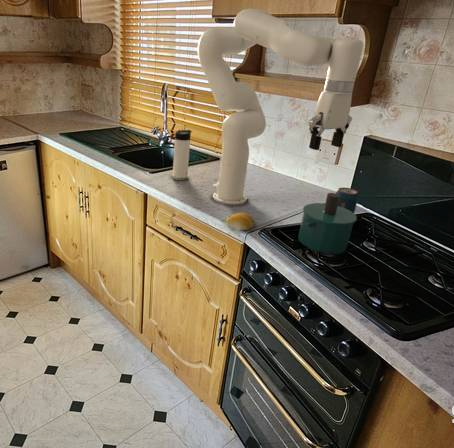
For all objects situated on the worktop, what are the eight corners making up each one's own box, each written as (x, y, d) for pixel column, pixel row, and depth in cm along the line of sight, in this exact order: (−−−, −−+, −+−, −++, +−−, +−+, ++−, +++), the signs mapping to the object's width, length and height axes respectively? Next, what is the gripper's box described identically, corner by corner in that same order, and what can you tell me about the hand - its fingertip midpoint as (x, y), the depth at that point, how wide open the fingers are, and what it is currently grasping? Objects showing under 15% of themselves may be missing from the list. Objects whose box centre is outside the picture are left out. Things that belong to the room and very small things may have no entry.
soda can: (344, 220, 138) (353, 187, 132) (354, 229, 131) (363, 194, 126) (324, 219, 137) (332, 186, 132) (333, 228, 131) (342, 194, 126)
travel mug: (190, 179, 169) (194, 132, 160) (175, 180, 167) (179, 132, 158) (184, 175, 174) (188, 128, 165) (170, 176, 172) (173, 129, 163)
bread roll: (257, 224, 131) (258, 213, 129) (245, 234, 124) (247, 222, 122) (234, 217, 135) (235, 206, 133) (221, 226, 128) (222, 214, 127)
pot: (282, 240, 122) (287, 211, 118) (324, 228, 131) (331, 201, 127) (318, 260, 111) (326, 229, 107) (361, 246, 120) (370, 217, 116)
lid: (291, 211, 119) (296, 190, 116) (324, 203, 126) (329, 183, 123) (332, 231, 108) (338, 208, 105) (366, 221, 115) (373, 199, 112)
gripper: (347, 85, 120) (333, 142, 127) (306, 86, 111) (294, 147, 119) (369, 88, 114) (354, 148, 121) (329, 89, 106) (315, 153, 113)
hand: (325, 147), depth 120 cm, fingers open, 9 cm apart
